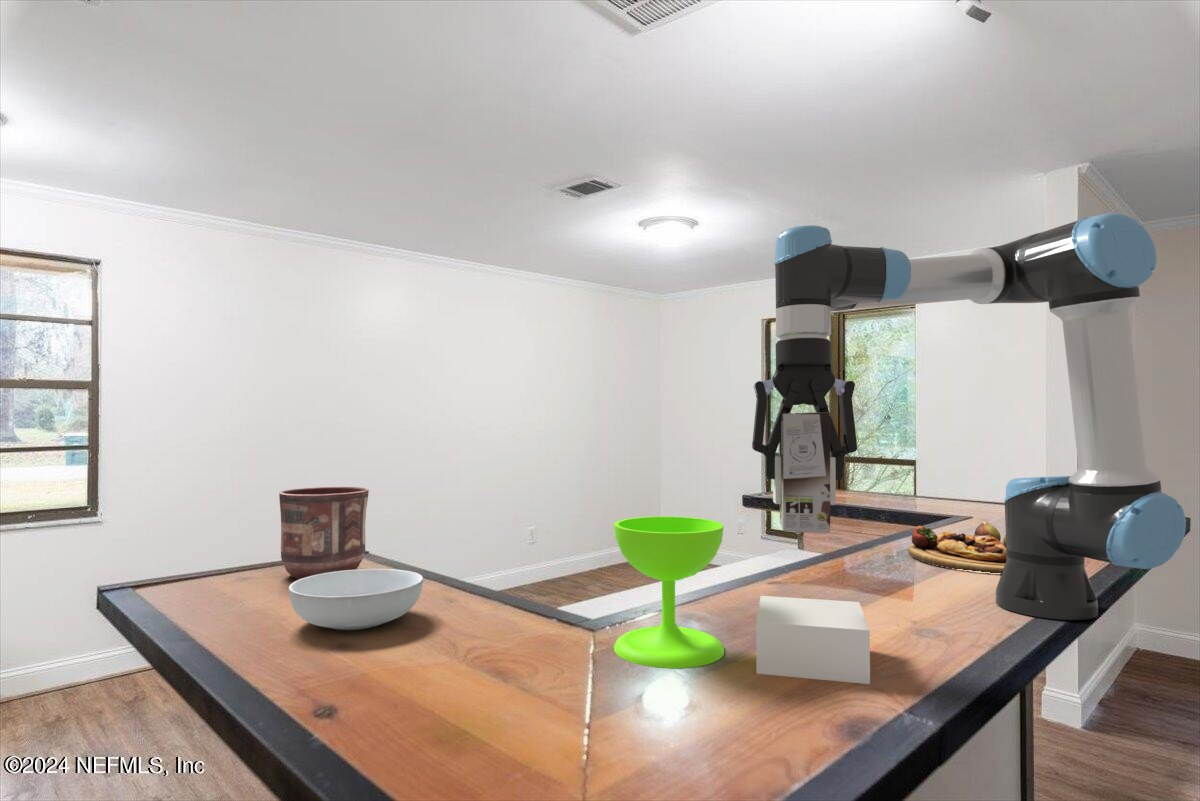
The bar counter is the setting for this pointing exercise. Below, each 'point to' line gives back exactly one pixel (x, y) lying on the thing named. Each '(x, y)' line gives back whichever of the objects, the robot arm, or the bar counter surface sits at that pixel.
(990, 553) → the wooden plate with food
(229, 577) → the bar counter surface
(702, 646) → the wineglass
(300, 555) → the pottery
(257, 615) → the bar counter surface
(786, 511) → the coffee box
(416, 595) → the serving bowl
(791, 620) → the plinth block
